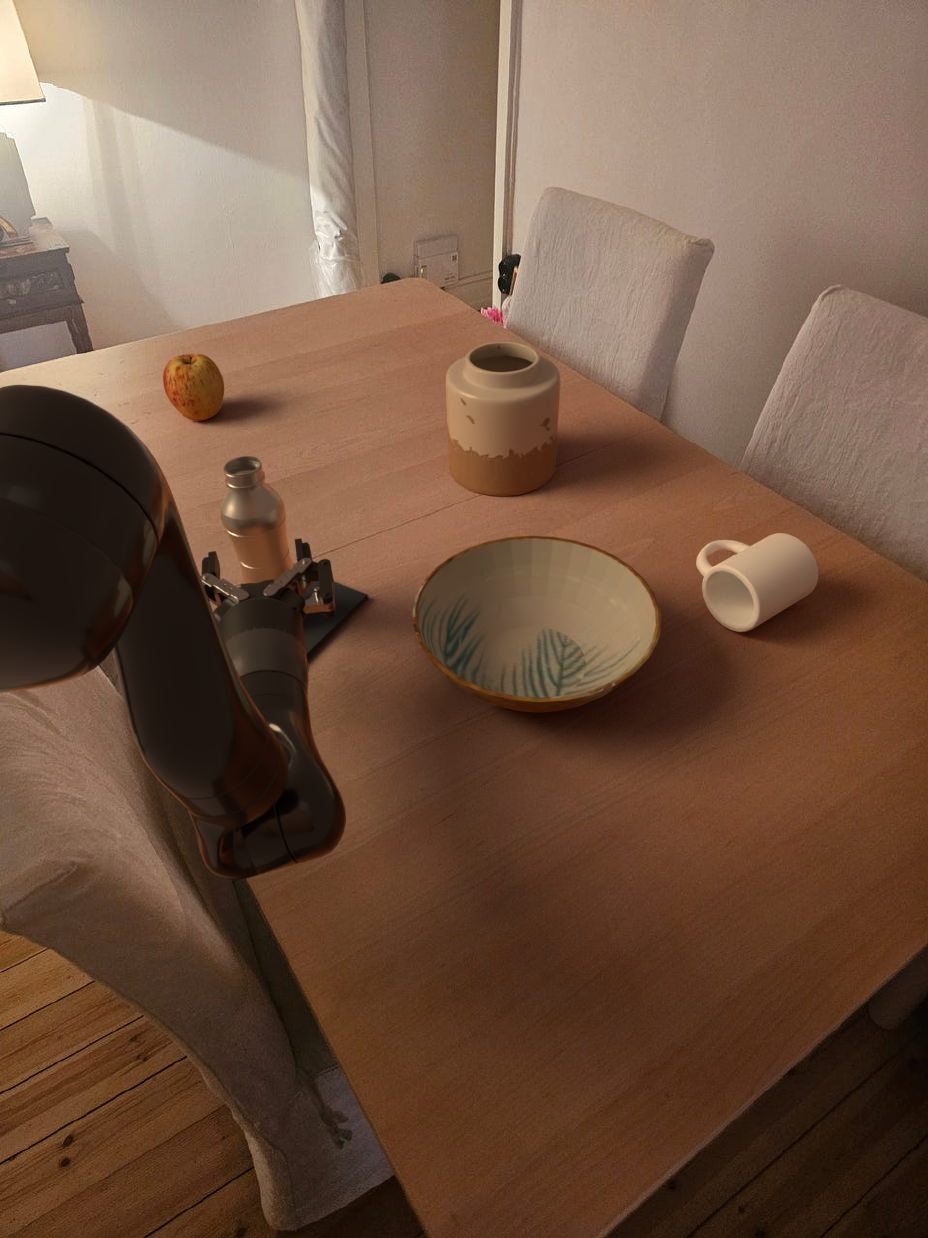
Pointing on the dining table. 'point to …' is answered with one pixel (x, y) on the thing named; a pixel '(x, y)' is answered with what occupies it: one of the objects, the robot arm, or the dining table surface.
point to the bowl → (536, 622)
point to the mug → (756, 579)
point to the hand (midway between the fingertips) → (257, 551)
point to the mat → (323, 627)
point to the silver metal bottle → (255, 521)
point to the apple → (194, 386)
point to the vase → (502, 419)
